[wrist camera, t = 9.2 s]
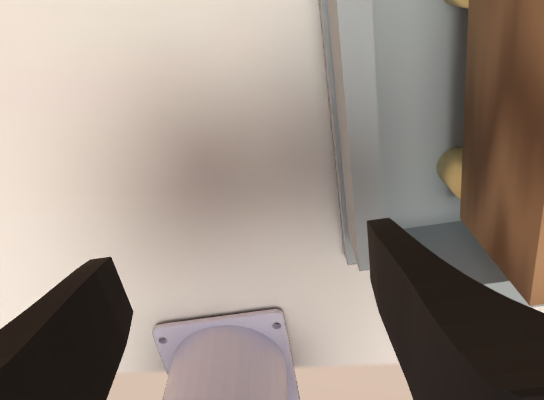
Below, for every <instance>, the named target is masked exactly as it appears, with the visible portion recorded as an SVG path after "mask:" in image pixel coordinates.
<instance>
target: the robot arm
mask: <svg viewBox="0 0 544 400" xmlns="http://www.w3.org/2000/svg"><path fill="white" fill-rule="evenodd" d="M367 234H368V249H369V263H370V278H371V284H372V287H373V291H374V295H375V299H376V303H377V306H378V310H379V313H380V316H381V318H382V321H383V323H384V326H385V328H386V331H387V333H388V336H389V338H390V341H391V343H392V346H393V348H394V351H395V353H396V356H397V358H398V361H399V363H400V366H401V368H402V370H403V373H404V375H405V378H406V380H407V383H408V386H409V388H410V391H411V394H412V397H413V400H544V313H542V312H540V311H537V310H535V309H533V308H531V307H528V306H526V305H524V304H522V303H519V302H517V301H515V300H513V299H510V298H508V297H506V296H504V295H502V294H500V293H498V292H496V291H494V290H493V289H491V288H489V287H487V286H485V285H483V284H481V283H480V282H478V281H476V280H474V279H472V278H471V277H469V276H467V275H466V274H464V273H462V272H461V271H459V270H458V269H456V268H455V267H453V266H452V265H450V264H449V263H447V262H446V261H444V260H443V259H441V258H440V257H438V256H437V255H436V254H434V253H433V252H432V251H430V250H429V249H428V248H426V247H425V246H424V245H422V244H421V243H420V242H419V241H417V240H416V239H415V238H414V237H412V236H411V235H410V234H409V233H408V232H406V231H405V230H404V229H403V228H402V227H400V226H399V225H398V224H397V223H396V222H394V221H393V220H392V219H390V218H382V219H375V220H368V221H367ZM132 316H133V310H132V307H131V305H130V302H129V300H128V297H127V295H126V293H125V290H124V288H123V285H122V283H121V280H120V278H119V275H118V273H117V270H116V268H115V265H114V263H113V261H112V258H111V257H106V258H99V259H92V260H89V261H88V262H86V263H85V264H83V265H82V266H80V267H79V268H78V269H76V270H75V271H74V272H73V273H71V274H70V275H69V276H67V277H66V278H65V279H64V280H63V281H61V282H60V283H59V284H58V285H56V286H55V287H54V288H53V289H51V290H50V291H49V292H48V293H46V294H45V295H44V296H43V297H42V298H40V299H39V300H38V301H37V302H35V303H34V304H33V305H32V306H30V307H29V308H28V309H26V310H25V311H24V312H23V313H21V314H20V315H19V316H17V317H16V318H15V319H13V320H12V321H11V322H9V323H8V324H7V325H5V326H4V327H3V328H1V329H0V400H106V399H107V396H108V394H109V391H110V388H111V386H112V383H113V380H114V378H115V375H116V372H117V370H118V367H119V364H120V361H121V358H122V356H123V353H124V350H125V347H126V344H127V340H128V335H129V331H130V326H131V321H132ZM276 322H277V323H280V324H274V323H276ZM152 334H153V337H154V340H155V342H156V345H157V348H158V350H159V353H160V356H161V358H162V361H163V363H164V366H165V369H166V371H167V374H168V380H167V384H166V388H165V392H164V396H163V400H300V397H299V392H298V387H297V381H296V376H295V371H294V366H293V361H292V355H291V350H290V345H289V340H288V335H287V329H286V324H285V319H284V314H283V312H282V311H281V310H278V309H271V310H263V311H255V312H248V313H240V314H233V315H225V316H218V317H210V318H203V319H195V320H188V321H180V322H172V323H165V324H159V325H156V326H155V327H154V329H153V332H152ZM161 337H163V338H166V339H162V338H161Z"/></svg>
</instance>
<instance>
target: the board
mask: <svg viewBox="0 0 544 400" xmlns="http://www.w3.org/2000/svg"><path fill="white" fill-rule="evenodd" d="M460 219H461V221H462V222H463V223H464V224H465V226H466V227H467V228H468V229H469V231H470V232H471V233H472V234H473V236H474V237H475V238H476V239H477V241H478V242H479V243H480V244H481V246H482V247H483V248H484V249H485V251H486V252H487V253H488V254H489V256H490V257H491V258H492V260H493V261H494V262H495V263H496V265H497V266H498V267H499V268H500V270H501V271H502V272H503V273H504V275H505V276H506V277H507V278H508V280H509V281H510V282H511V283H512V285H513V286H514V287H515V288H516V290H517V291H518V292H519V293H520V295H521V296H522V297H523V298H524V300H525V301H526V302H527V303H528V305H529V306H534V305H541V304H544V0H469V6H468V30H467V55H466V80H465V104H464V129H463V153H462V178H461V203H460Z"/></svg>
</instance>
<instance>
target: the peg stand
mask: <svg viewBox="0 0 544 400" xmlns="http://www.w3.org/2000/svg"><path fill="white" fill-rule="evenodd" d="M468 6H469V0H319V7H320V17H321V26H322V36H323V46H324V56H325V66H326V75H327V85H328V95H329V105H330V115H331V125H332V134H333V144H334V154H335V164H336V174H337V184H338V193H339V203H340V213H341V223H342V233H343V243H344V252H345V257H346V261H347V264H348V265H352V264H358V268H359V271H364V270H370V263H369V249H368V234H367V221H368V220H375V219H382V218H390V219H392V220H393V221H394V222H396V223H397V224H398V225H399V226H400V227H402V228H403V229H404V230H405V231H406V232H408V233H409V234H410V235H411V236H412V237H414V238H415V239H416V240H417V241H419V242H420V243H421V244H422V245H424V246H425V247H426V248H428V249H429V250H430V251H432V252H433V253H434V254H436V255H437V256H438V257H440V258H441V259H443V260H444V261H446V262H447V263H449V264H450V265H452V266H453V267H455V268H456V269H458V270H459V271H461V272H462V273H464V274H466V275H467V276H469V277H471V278H472V279H474V280H476V281H478V282H480V283H481V284H483V285H485V286H487V287H489V288H491V289H493V290H494V291H496V292H498V293H500V294H502V295H504V296H506V297H508V298H510V299H513V300H515V301H517V302H519V303H522V304H524V305H526V306H528V307H538V306H544V304H541V305H534V306H529V305H528V303H527V302H526V301H525V300H524V298H523V297H522V296H521V295H520V293H519V292H518V291H517V290H516V288H515V287H514V286H513V285H512V283H511V282H510V281H509V280H508V278H507V277H506V276H505V275H504V273H503V272H502V271H501V270H500V268H499V267H498V266H497V265H496V263H495V262H494V261H493V260H492V258H491V257H490V256H489V254H488V253H487V252H486V251H485V249H484V248H483V247H482V246H481V244H480V243H479V242H478V241H477V239H476V238H475V237H474V236H473V234H472V233H471V232H470V231H469V229H468V228H467V227H466V226H465V224H464V223H463V222H462V221H461V219H460V203H461V178H462V153H463V129H464V104H465V80H466V55H467V30H468Z"/></svg>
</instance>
